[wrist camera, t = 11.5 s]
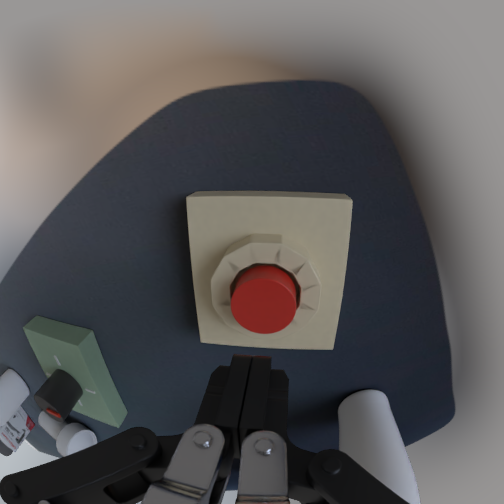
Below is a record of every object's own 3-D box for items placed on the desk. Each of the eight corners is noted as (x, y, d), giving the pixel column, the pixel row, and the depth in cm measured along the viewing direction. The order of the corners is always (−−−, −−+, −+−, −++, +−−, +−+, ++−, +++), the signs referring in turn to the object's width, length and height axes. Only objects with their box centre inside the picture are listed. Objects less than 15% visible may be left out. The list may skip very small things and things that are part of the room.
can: (35, 395, 36) (5, 434, 24) (21, 389, 37) (-8, 424, 26) (17, 369, 33) (-17, 408, 22) (4, 365, 35) (-28, 399, 23)
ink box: (36, 425, 44) (16, 454, 33) (25, 418, 44) (5, 445, 33) (20, 404, 41) (-3, 433, 30) (10, 397, 41) (-13, 425, 30)
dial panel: (36, 315, 26) (21, 328, 23) (92, 329, 25) (76, 347, 22) (73, 393, 31) (63, 406, 28) (128, 412, 30) (118, 429, 27)
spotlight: (103, 451, 35) (77, 473, 28) (65, 423, 39) (39, 440, 31) (93, 423, 34) (62, 447, 26) (54, 394, 37) (25, 411, 30)
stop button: (234, 263, 16) (228, 276, 15) (297, 266, 16) (298, 279, 14) (236, 316, 18) (231, 332, 16) (293, 318, 17) (294, 335, 16)
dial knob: (64, 390, 26) (44, 417, 21) (49, 365, 25) (26, 392, 20) (88, 399, 26) (68, 429, 21) (73, 373, 24) (49, 403, 19)
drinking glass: (329, 424, 26) (333, 544, 12) (331, 387, 24) (340, 534, 10) (387, 415, 25) (409, 528, 11) (397, 376, 23) (436, 510, 9)
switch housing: (196, 191, 19) (174, 202, 15) (345, 193, 18) (360, 205, 14) (207, 326, 23) (194, 357, 19) (329, 332, 21) (335, 366, 18)
